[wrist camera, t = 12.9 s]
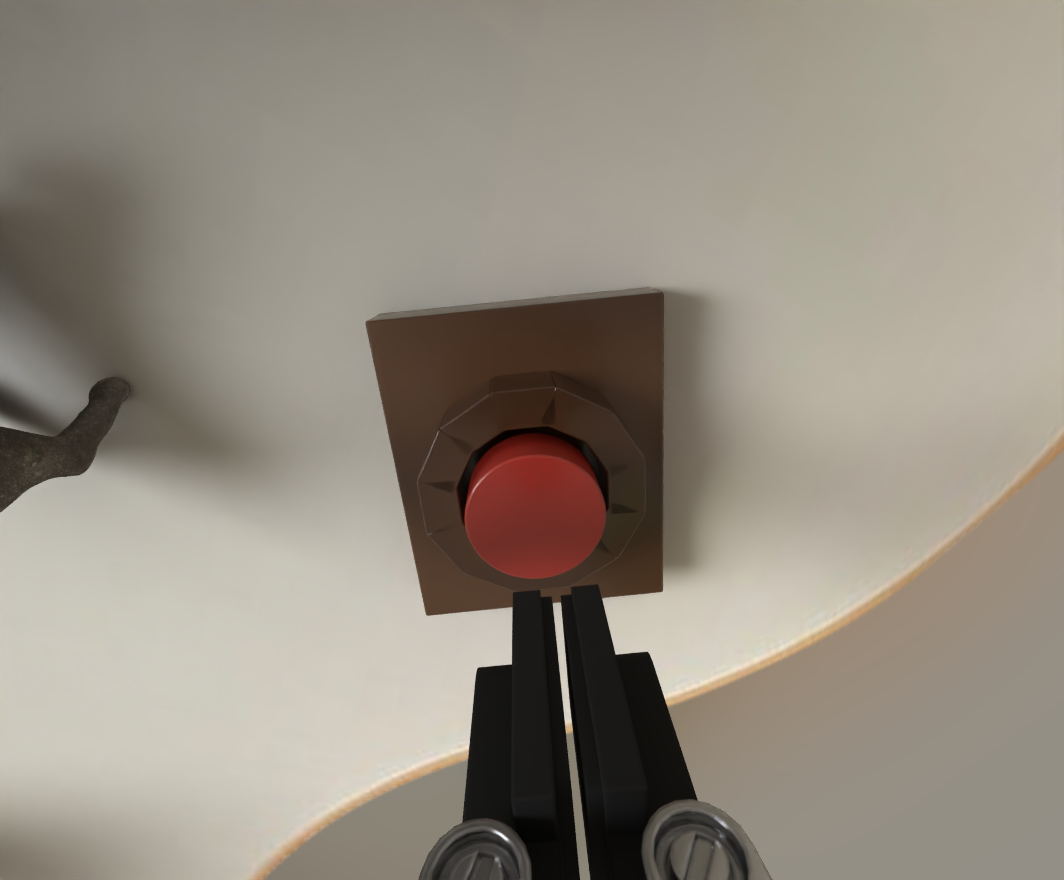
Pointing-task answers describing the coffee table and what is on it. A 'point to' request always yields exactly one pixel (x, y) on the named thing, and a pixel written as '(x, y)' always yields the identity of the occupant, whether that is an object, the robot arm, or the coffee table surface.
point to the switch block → (526, 428)
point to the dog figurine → (58, 444)
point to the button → (534, 506)
